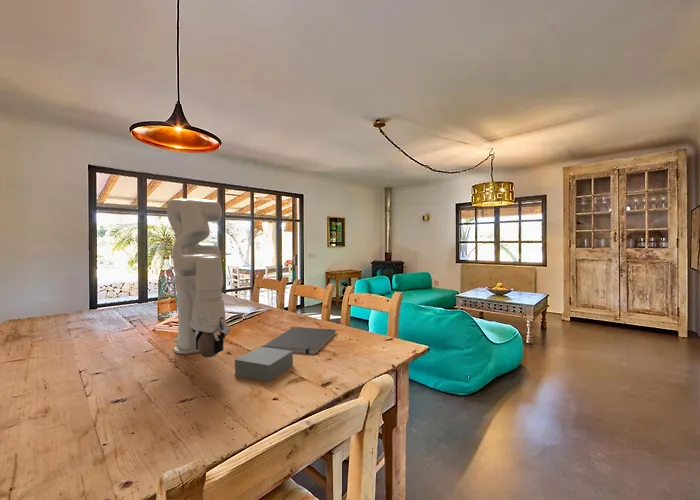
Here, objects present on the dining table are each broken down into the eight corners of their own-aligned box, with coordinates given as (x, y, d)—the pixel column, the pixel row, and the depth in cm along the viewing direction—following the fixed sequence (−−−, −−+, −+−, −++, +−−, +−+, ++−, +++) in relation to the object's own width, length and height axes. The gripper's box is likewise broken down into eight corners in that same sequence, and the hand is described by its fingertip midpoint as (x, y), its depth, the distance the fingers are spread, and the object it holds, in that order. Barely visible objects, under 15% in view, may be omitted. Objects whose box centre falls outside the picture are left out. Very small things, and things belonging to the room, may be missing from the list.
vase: (212, 360, 97) (212, 332, 96) (192, 358, 98) (192, 330, 97) (225, 352, 103) (225, 325, 103) (207, 350, 105) (206, 324, 104)
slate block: (235, 375, 99) (234, 359, 99) (261, 360, 112) (261, 346, 111) (269, 381, 95) (269, 365, 94) (292, 365, 107) (292, 351, 107)
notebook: (293, 331, 150) (262, 351, 123) (293, 326, 150) (262, 345, 122) (336, 334, 144) (314, 356, 117) (336, 329, 144) (314, 349, 117)
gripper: (178, 294, 99) (179, 349, 100) (221, 299, 93) (221, 358, 94) (198, 290, 106) (198, 342, 107) (239, 295, 100) (239, 350, 101)
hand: (209, 349), depth 101 cm, fingers closed on vase, 6 cm apart
